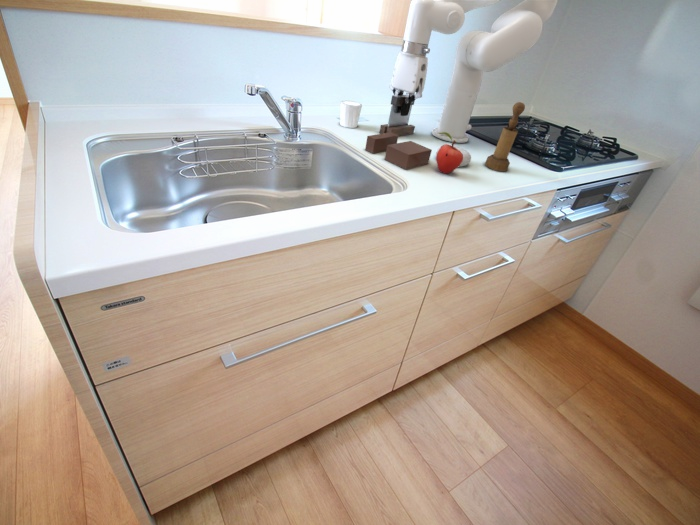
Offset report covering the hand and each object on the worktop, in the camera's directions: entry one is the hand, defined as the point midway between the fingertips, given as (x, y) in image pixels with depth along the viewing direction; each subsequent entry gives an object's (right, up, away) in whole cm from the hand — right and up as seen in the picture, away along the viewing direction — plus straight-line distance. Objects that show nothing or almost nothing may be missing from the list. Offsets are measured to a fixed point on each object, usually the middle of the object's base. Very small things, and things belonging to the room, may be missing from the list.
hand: (400, 113), depth 119 cm
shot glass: (-17, -3, +3) cm, 17 cm away
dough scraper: (-1, -4, +3) cm, 5 cm away
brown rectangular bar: (-7, -15, -12) cm, 21 cm away
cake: (-1, -20, -18) cm, 27 cm away
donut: (+13, -19, -12) cm, 26 cm away
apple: (+9, -24, -20) cm, 32 cm away
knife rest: (-1, -5, +4) cm, 6 cm away
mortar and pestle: (+27, -20, -11) cm, 35 cm away
